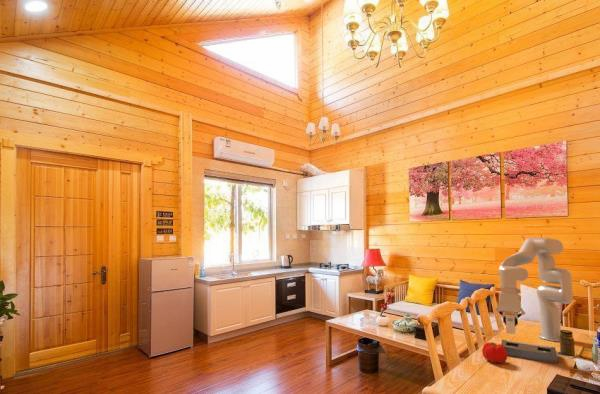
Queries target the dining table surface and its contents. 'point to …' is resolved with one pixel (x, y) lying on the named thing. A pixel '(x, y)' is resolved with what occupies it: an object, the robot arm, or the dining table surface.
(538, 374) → the dining table surface
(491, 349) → the tomato
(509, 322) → the plug
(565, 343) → the condiment
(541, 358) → the panel
